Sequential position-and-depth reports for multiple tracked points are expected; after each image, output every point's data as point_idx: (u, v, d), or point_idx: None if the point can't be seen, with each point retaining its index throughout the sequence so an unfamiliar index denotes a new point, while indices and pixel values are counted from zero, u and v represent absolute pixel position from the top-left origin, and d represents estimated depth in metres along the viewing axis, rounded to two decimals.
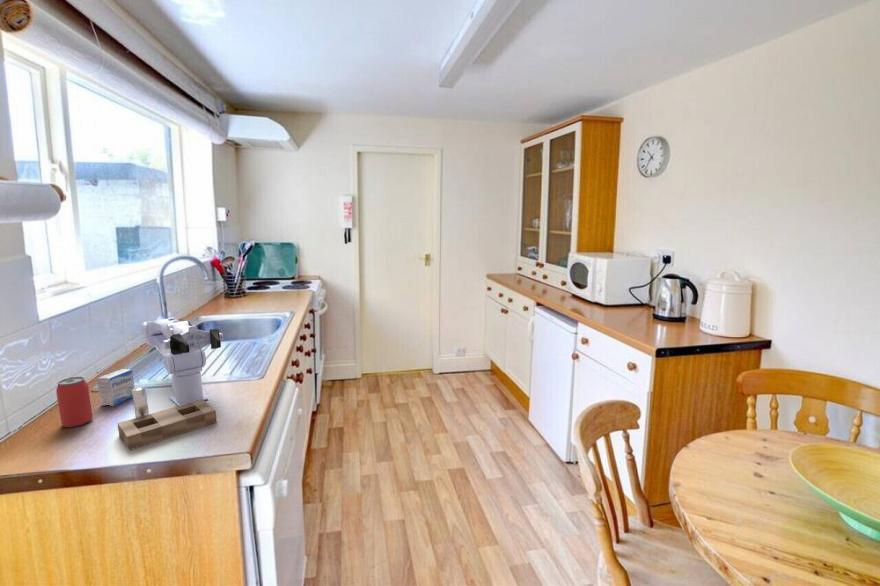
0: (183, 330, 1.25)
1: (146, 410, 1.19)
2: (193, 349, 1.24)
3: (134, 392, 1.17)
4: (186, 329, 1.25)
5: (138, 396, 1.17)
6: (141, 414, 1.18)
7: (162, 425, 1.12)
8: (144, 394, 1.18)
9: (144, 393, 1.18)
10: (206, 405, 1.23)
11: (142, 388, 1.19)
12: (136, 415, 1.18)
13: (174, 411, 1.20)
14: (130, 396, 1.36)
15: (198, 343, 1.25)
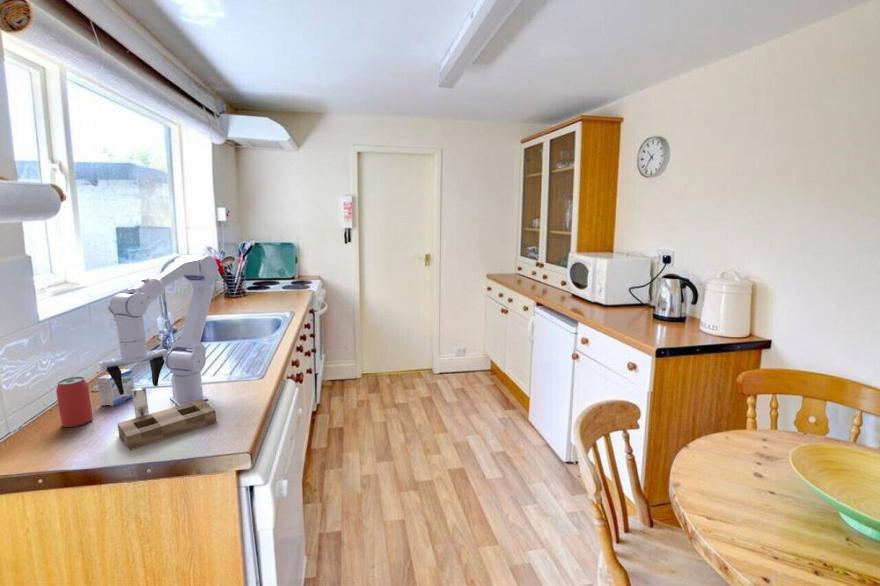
0: (128, 347, 1.13)
1: (146, 410, 1.19)
2: None
3: (134, 392, 1.17)
4: (131, 349, 1.14)
5: (138, 396, 1.17)
6: (141, 414, 1.18)
7: (162, 425, 1.12)
8: (144, 394, 1.18)
9: (144, 393, 1.18)
10: (206, 405, 1.23)
11: (142, 388, 1.19)
12: (136, 415, 1.18)
13: (174, 411, 1.20)
14: (130, 396, 1.36)
15: None
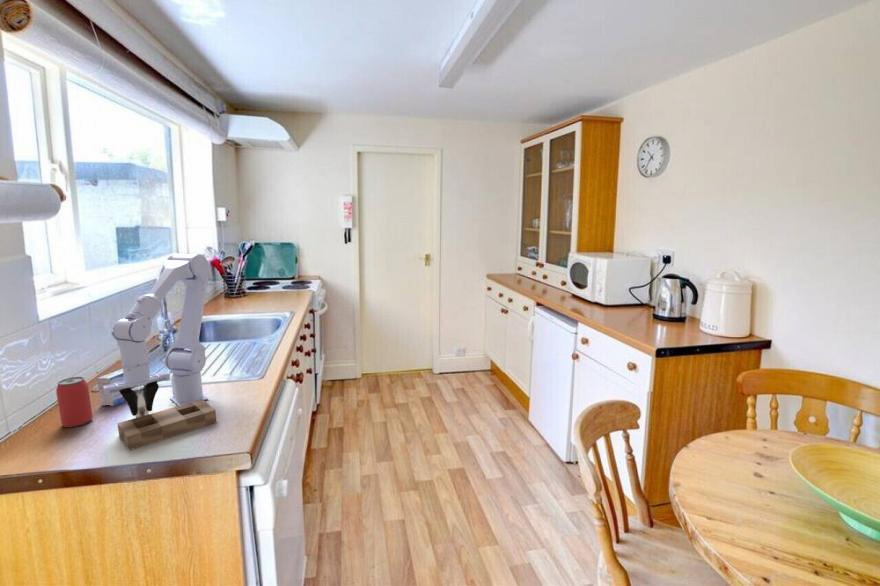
0: (131, 372, 1.15)
1: (146, 410, 1.19)
2: None
3: (134, 392, 1.17)
4: (135, 374, 1.15)
5: (138, 396, 1.17)
6: (141, 414, 1.18)
7: (162, 425, 1.12)
8: (144, 394, 1.18)
9: (144, 393, 1.18)
10: (206, 405, 1.23)
11: (142, 388, 1.19)
12: (136, 415, 1.18)
13: (174, 411, 1.20)
14: None
15: None
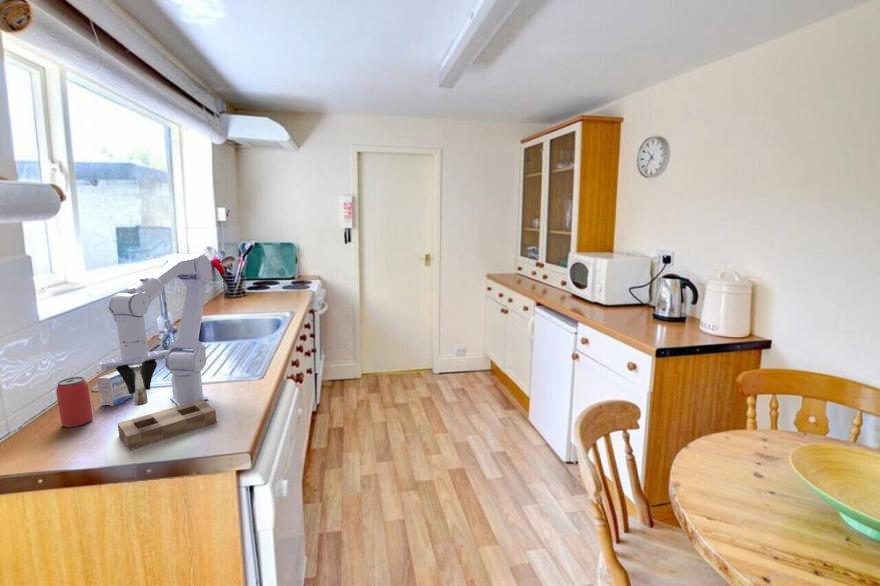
0: (128, 348, 1.11)
1: (144, 388, 1.16)
2: None
3: (131, 369, 1.13)
4: (132, 350, 1.11)
5: (136, 373, 1.14)
6: (138, 392, 1.15)
7: (162, 425, 1.12)
8: (142, 372, 1.15)
9: (142, 371, 1.15)
10: (206, 405, 1.23)
11: (140, 366, 1.15)
12: (133, 393, 1.15)
13: (174, 411, 1.20)
14: (130, 396, 1.36)
15: None
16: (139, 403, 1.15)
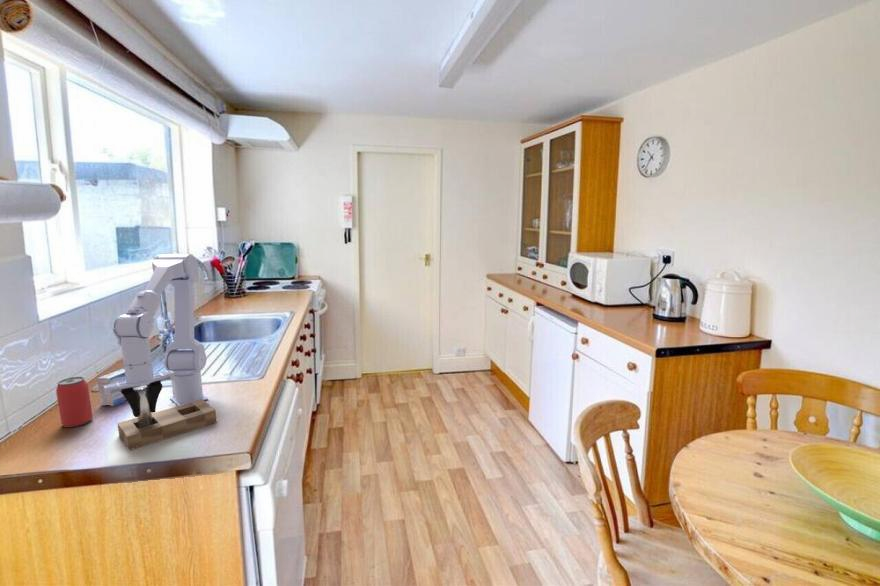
0: (133, 370, 1.08)
1: (149, 411, 1.13)
2: None
3: (136, 392, 1.10)
4: (137, 372, 1.08)
5: (141, 396, 1.11)
6: (144, 415, 1.12)
7: (162, 425, 1.12)
8: (147, 394, 1.12)
9: (147, 393, 1.12)
10: (206, 405, 1.23)
11: (145, 388, 1.12)
12: None
13: (174, 411, 1.20)
14: None
15: None
16: (144, 426, 1.12)
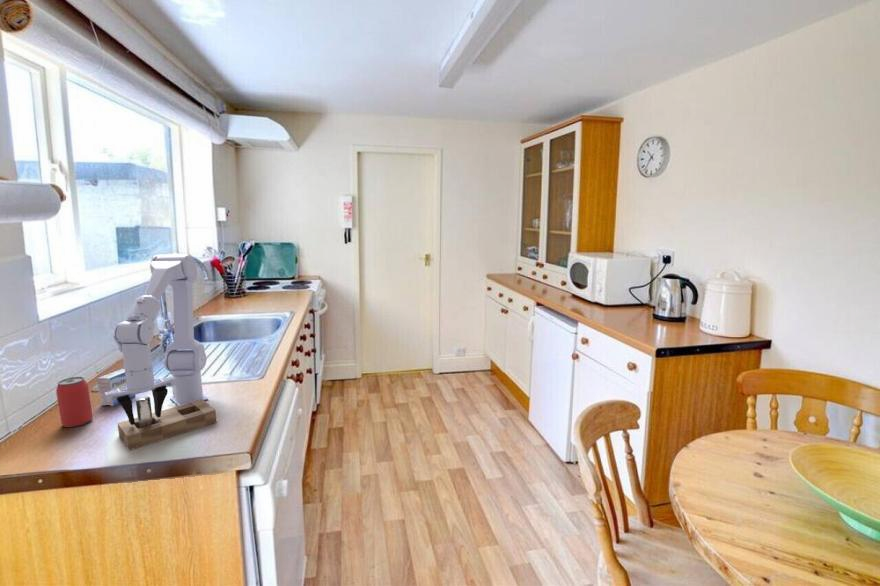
0: (134, 377, 1.08)
1: (150, 421, 1.13)
2: None
3: (138, 402, 1.11)
4: (138, 379, 1.09)
5: (142, 406, 1.11)
6: (145, 425, 1.12)
7: (162, 425, 1.12)
8: (148, 404, 1.12)
9: (148, 403, 1.12)
10: (206, 405, 1.23)
11: (146, 398, 1.12)
12: (140, 426, 1.12)
13: (174, 411, 1.20)
14: (130, 396, 1.36)
15: None
16: None
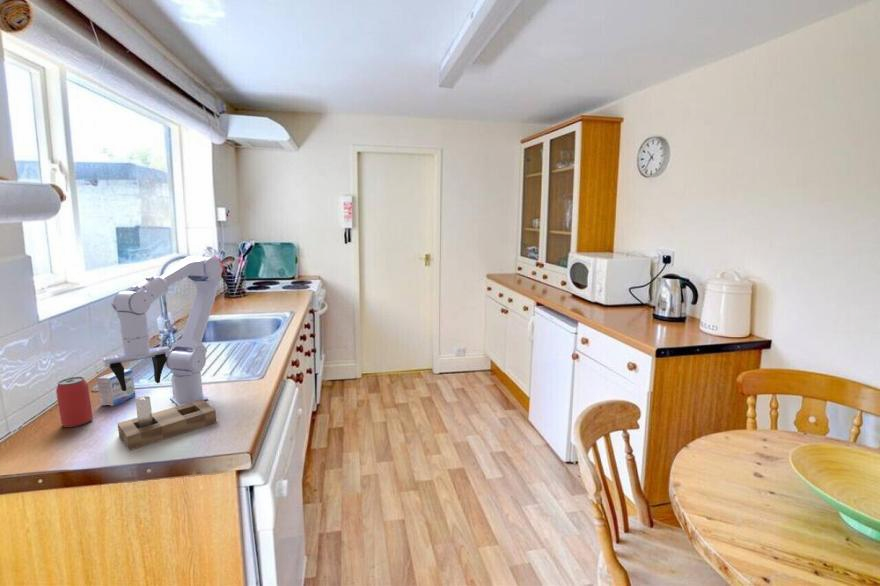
0: (131, 344, 1.15)
1: (150, 421, 1.13)
2: None
3: (138, 402, 1.11)
4: (134, 346, 1.15)
5: (142, 406, 1.11)
6: (145, 425, 1.12)
7: (162, 425, 1.12)
8: (148, 404, 1.12)
9: (148, 403, 1.12)
10: (206, 405, 1.23)
11: (146, 398, 1.13)
12: (140, 426, 1.12)
13: (174, 411, 1.20)
14: (130, 396, 1.36)
15: None
16: None
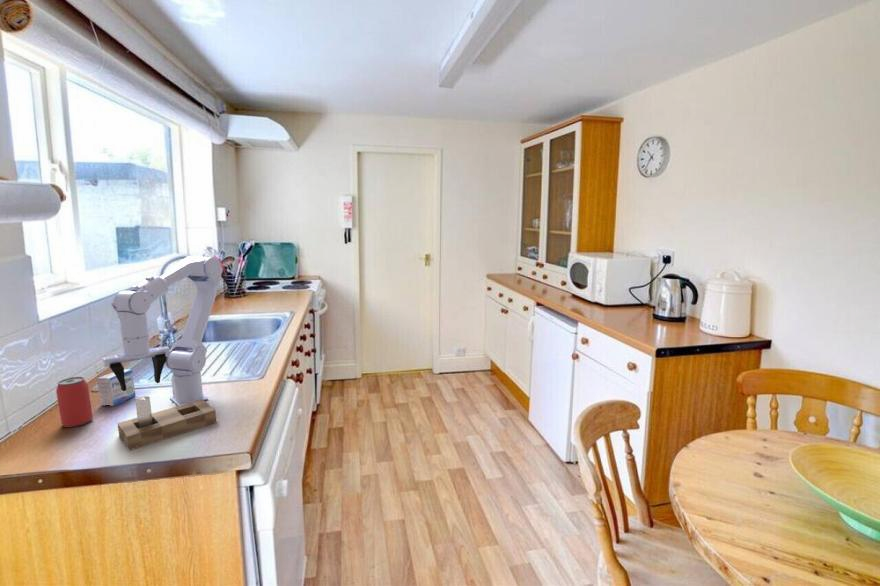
0: (131, 344, 1.15)
1: (150, 421, 1.13)
2: None
3: (137, 402, 1.11)
4: (134, 346, 1.15)
5: (142, 406, 1.11)
6: (145, 425, 1.12)
7: (162, 425, 1.12)
8: (148, 404, 1.12)
9: (148, 403, 1.12)
10: (206, 405, 1.23)
11: (146, 398, 1.13)
12: (140, 426, 1.12)
13: (174, 411, 1.20)
14: (130, 396, 1.36)
15: None
16: None
